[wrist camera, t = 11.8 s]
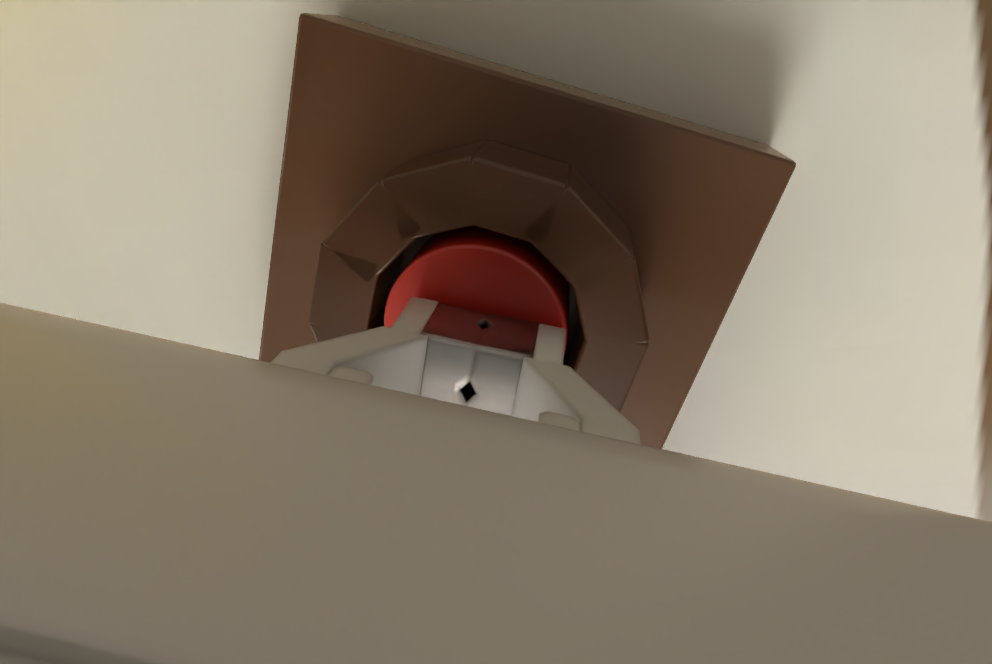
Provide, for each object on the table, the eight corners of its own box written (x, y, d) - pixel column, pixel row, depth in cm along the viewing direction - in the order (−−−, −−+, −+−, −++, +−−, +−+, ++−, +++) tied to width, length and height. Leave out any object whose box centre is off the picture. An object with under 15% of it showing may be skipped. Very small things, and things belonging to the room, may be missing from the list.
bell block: (286, 360, 18) (211, 441, 14) (335, 14, 14) (248, 6, 10) (628, 464, 18) (638, 572, 14) (772, 146, 14) (835, 185, 10)
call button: (391, 347, 15) (367, 385, 13) (424, 197, 13) (402, 220, 12) (541, 393, 15) (536, 436, 13) (592, 249, 13) (592, 277, 12)
